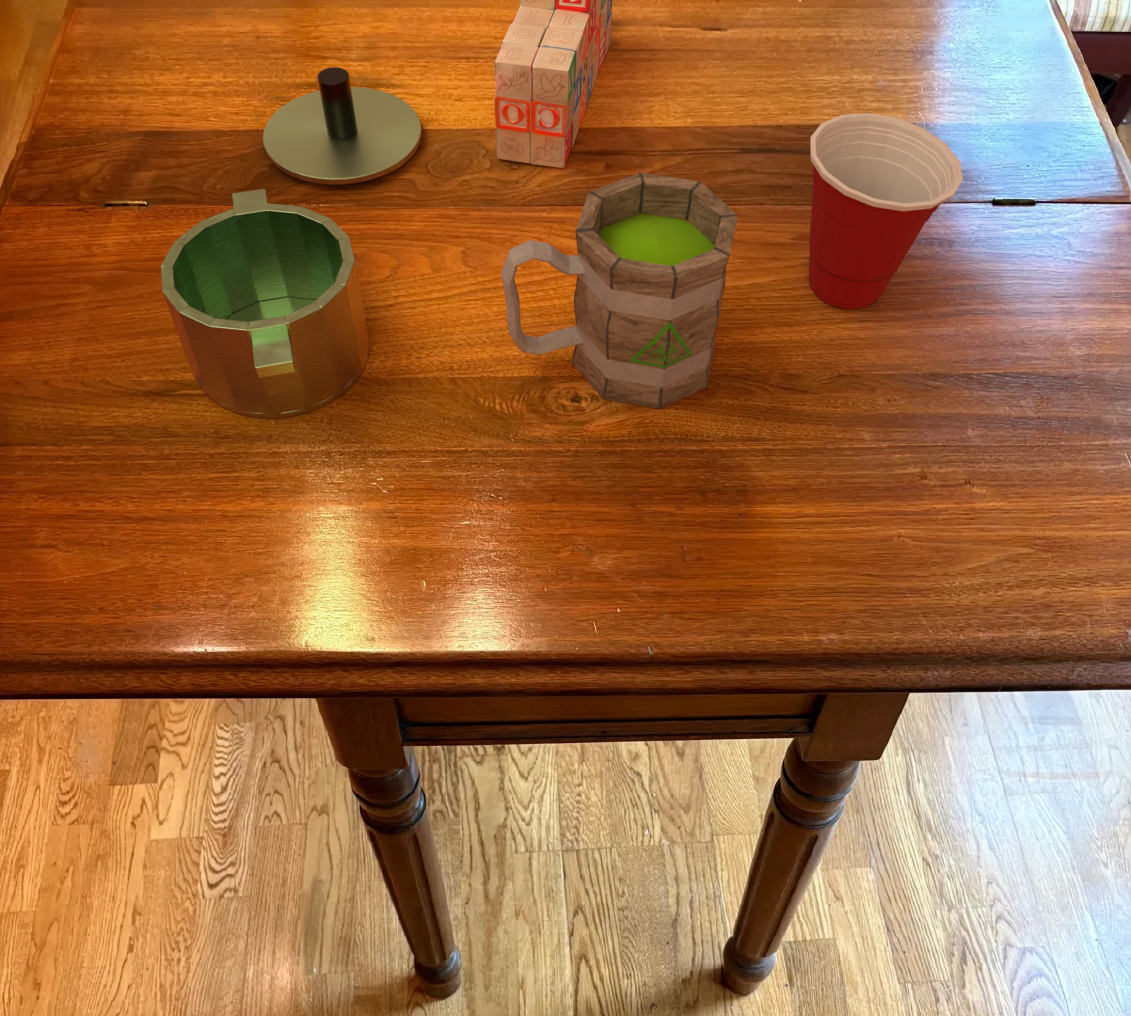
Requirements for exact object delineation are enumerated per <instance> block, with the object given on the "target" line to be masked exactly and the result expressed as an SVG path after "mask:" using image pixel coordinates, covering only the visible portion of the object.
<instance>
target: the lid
mask: <svg viewBox="0 0 1131 1016" xmlns="http://www.w3.org/2000/svg"><path fill="white" fill-rule="evenodd" d="M317 83H318V89H319V90H316V91H312V92H308V93H306V94H303V95H301V96H298V97H296V98H294V99H292V100H290V101H288V102H287V103H285V104H284V105H282V106H280V107H279V108H278V109H277V110H276V111H275V112H274V113H273V114H272V115H271V117H270V118H269V119H268V120H267V122H266V124H265V126H264V129H263V134H262V144H263V147H264V151H265V154H266V156H267V157H268V159H269V161H270V162H271V163H272V164H273V166H275V167H276V168H277V169H278V170H280V171H281V172H283V173H284V174H285V175H288V176H290V177H292V178H295V179H297V180H301V181H303V182H308V183H313V184H319V185H330V186H331V185H333V186H334V185H335V186H336V185H337V186H338V185H352V184H359V183H364V182H368V181H371V180H376V179H378V178H380V177H383V176H386V175H388V174H389V173H392V172H394V171H395V170H397V169H399V168H401V167H402V166H403V165H404V164H406V163H407V162H408V161H409V160H410V159H411V158H412V157H413V156H414V155H415V153H416V152H417V150H418V149H419V146H420V145H421V141H422V131H423V130H422V124H421V120H420V118H419V116H418V114H417V113H416V110H414V109H413V107H412V106H411V105H410V104H408V103H407V102H406V101H405V100H403V99H401V98H399V97H397V95H394V94H391V93H389V92H386V91H383V90H379V89H374V88H370V87H363V86H362V87H359V86H352V85H351V79H350V74H349V72H348V71H347V70H346V69H345V68H343V67H336V66H333V67H332V66H331V67H327V68H324V69H322V70H320V71H319V72H318V74H317Z"/></svg>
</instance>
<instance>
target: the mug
mask: <svg viewBox="0 0 1131 1016" xmlns="http://www.w3.org/2000/svg"><path fill="white" fill-rule="evenodd" d="M582 207H583V208H582V210H581V213H580V216H579V218H578V222H577V225H576V228H575V231H574V232H575V239H576V250H577V254H570V255H569V254H565V253H564V252H562V251H560V250H559V249H557V248H556V247H554V246H553V245H552V244H551V243H549V242H543V241H538V240H532V239H529V240H527V241H525V242H523V243H521V244H519V245H516V246H514V247H512V248H509V249H508V253H507V255H506V257H505V260H504V263H503V266H502V269H501V281H502V286H503V292H504V297H505V309H506V321H507V328H508V335H509V336H510V338H511V339H512V341H513V342H514V343H515V345H516V347H518V349H519V350H520V352H521V353H524V354H525V353H526V354H532V355H535V356H541V355H544V354H547V353H551V352H554V351H558V350H561V349H566V348H571V347H574V350H573V355H572V360H571V364H572V365H573V366H574V368H575V369H576V370H577V372H578V373H580V375H581V376H582V377H583V379H585V380H586V381H587V383H588V384H589V385H590V386H591V387H592V388H593V389H594V390H595V392H596V393H597V394H598V395H599V396H600V397H601V399H602V400H608V401H612V402H618V403H624V404H628V405H629V404H630V405H635V406H641V407H647V408H653V409H659V410H661V409H663V408H666V407H667V406H670V405H672V404H674V403H676V402H678V401H681V400H682V399H684V398H687V397H689V396H691V395H693V394H695V393H697V392H699V391H702V390H703V389H705V388H707V387H708V386H709V380H710V375H711V370H712V364H713V361H714V354H715V350H716V331H717V327H718V322H719V318H720V313H721V309H722V303H723V299H724V294H725V288H726V280H727V279H726V278H727V265H728V262H729V259H730V256H731V251H732V246H733V242H734V236H735V232H736V226H737V221H738V216H739V214H737V213H736V212H735V211H734V210H733V209H732V208H731V207H730V206H729V205H728V204H726V203H725V202H724V201H723V200H722V199H721V198H720V197H718V196H717V195H716V194H715V193H714V192H713V191H711V190H710V189H709V188H708V187H707V186H706V185H705V184H704V183H702V182H701V181H699V180H692V179H687V178H686V179H685V178H679V177H673V176H667V175H661V174H652V173H646V172H637V173H635V174H632V175H629V176H626V177H624V178H621V179H618V180H617V181H616V180H615V181H614V182H611V183H609V184H606V185H604V186H601V187H598V188H595V189H593V190H591V191H588V192H587V196H586V199H585V202H584V204H583V206H582ZM531 260H536V261H539V262H544V263H547V264H549V265H550V266H551V267H553V268H554V269H555V270H556V271H558V272H559V273H562V274H563V275H566V276H567V275H568V276H569V275H570V276H571V275H573V276H575V275H576V276H577V277H576V283H575V290H574V296H573V308H574V309H573V310H574V316H575V318H574V319H575V325H574V326H570V327H566V328H562V329H558V330H557V329H556V330H553V331H550V332H548V333H545V334H543V335H540V336H532V335H527V334H525V333H524V332H523V330H522V325H521V306H520V304H521V303H520V295H519V291H518V287H517V284H516V280H515V278H516V274H517V270H518V266H520V265H523V264H525V263H527V262H530V261H531Z"/></svg>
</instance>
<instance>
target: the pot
mask: <svg viewBox="0 0 1131 1016" xmlns="http://www.w3.org/2000/svg"><path fill="white" fill-rule="evenodd" d="M231 199H232V207H233V208H230V209H227V210H224V211H223V212H219V213H217V214H214V215H212V216H209V217H207V218H206V219H203V220H200V221H199V222H197V223H196V224H194V225H193V226H192V227H190V228H189V229H188V230H187V231H186V232H184V233H183V234H182V235H181V236H180V237H178V238H177V239H176V240H174V242H173V243H172V245H171V247H170V248H169V250H168V252H167V254H166V255H165V257H164V259H163V261H162V263H161V265H160V277H161V279H160V280H161V291H162V294H163V297H164V300H165V302H166V305H167V307H168V310H169V313H170V316H171V318H172V321H173V324H174V327H175V329H176V332H177V335H178V338H179V340H180V343H181V346H182V349H183V352H184V354H185V356H186V359H187V362H188V364H189V367H190V371H191V372H192V375H193V378H194V379H195V380H196V382H197V384H198V385H199V387H200V389H201V391H203V393H204V394H205V395H206V396H207V397H208V399H210V400H212V401H213V402H214V403H215V404H216V405H218V406H220V407H221V408H223V409H225V410H228V411H230V412H232V413H235V414H239V415H241V416H245V417H250V418H251V417H252V418H258V419H281V418H288V417H294V416H298V415H303V414H306V413H309V412H312V411H316V410H318V409H320V408H322V407H325V406H327V405H328V404H331V403H332V402H334V401H336V400H337V399H338V398H340V397H341V396H343V395H344V394H345V393H346V392H347V391H349V390H350V389H351V388H352V387H353V386H354V385H355V383H356V382H357V381H358V380H359V378H360V377H361V375H362V374H363V372H364V370H365V368H366V365H367V363H368V359H369V355H370V347H371V345H370V344H371V343H370V338H369V332H368V327H367V321H366V315H365V309H364V304H363V299H362V298H363V297H362V293H361V288H360V281H359V276H358V275H359V274H358V270H357V264H356V260H355V255H354V250H353V246H352V242H351V238H350V236H349V235H348V234H347V233H346V232H345V231H344V230H343V229H342V228H341V227H340V226H339V225H338V224H337V223H336V222H335V221H334V220H333V219H332V218H330V217H328V216H326V215H323V214H321V213H319V212H316V211H314V210H312V209H309V208H306V207H304V206H301V205H289V204H279V203H271V202H270V203H269V198H268V195H267V190H266V188H260V189H259V188H258V189H253V190H247V191H239V192H233V193H231Z"/></svg>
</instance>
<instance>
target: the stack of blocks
mask: <svg viewBox="0 0 1131 1016" xmlns="http://www.w3.org/2000/svg"><path fill="white" fill-rule="evenodd" d="M612 11H613V0H519V6H518V9H517V11H516V13H515V16H514V18H513V20H512V23H510V24H509V26H508V28H507V31H506V33H505V35H504V37H503V38H502V39H503V40H502V42H501V46H500V49H499V51H498V52H497V56H496V58H495V60H494V79H495V82H494V83H495V85H494V86H495V95H494V120H495V145H496V158H497V159H498V160H505V161H511V162H517V163H524V164H525V163H526V164H531V165H535V166H536V165H538V166H545V167H551V168H558V169H565V168H566V165H567V161H568V159H569V155H570V153H571V150H572V148H573V147H574V144H575V141H576V139H577V135H578V133H579V130H580V128H581V125H582V123H583V120H584V117H585V114H586V111H587V106H588V103H589V101H590V97H591V95H592V91H593V89H594V86H595V83H596V80H597V78H598V75H599V74H600V71H601V69H602V66H603V64H604V61H605V58H606V56H607V54H608V51H609V48H610V45H611V41H612V24H613V22H612V21H613V12H612Z"/></svg>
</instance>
